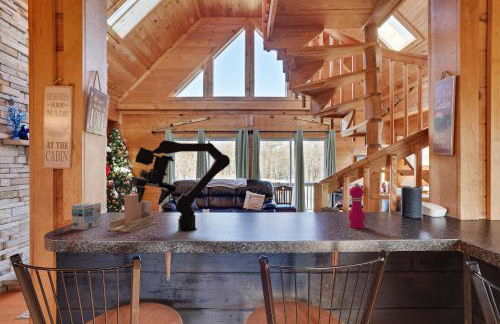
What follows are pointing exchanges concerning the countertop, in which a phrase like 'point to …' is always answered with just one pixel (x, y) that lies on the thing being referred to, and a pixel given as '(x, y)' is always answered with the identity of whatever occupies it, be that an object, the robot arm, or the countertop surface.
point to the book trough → (137, 224)
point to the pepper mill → (356, 208)
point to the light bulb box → (86, 215)
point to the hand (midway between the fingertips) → (149, 203)
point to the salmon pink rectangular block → (132, 208)
